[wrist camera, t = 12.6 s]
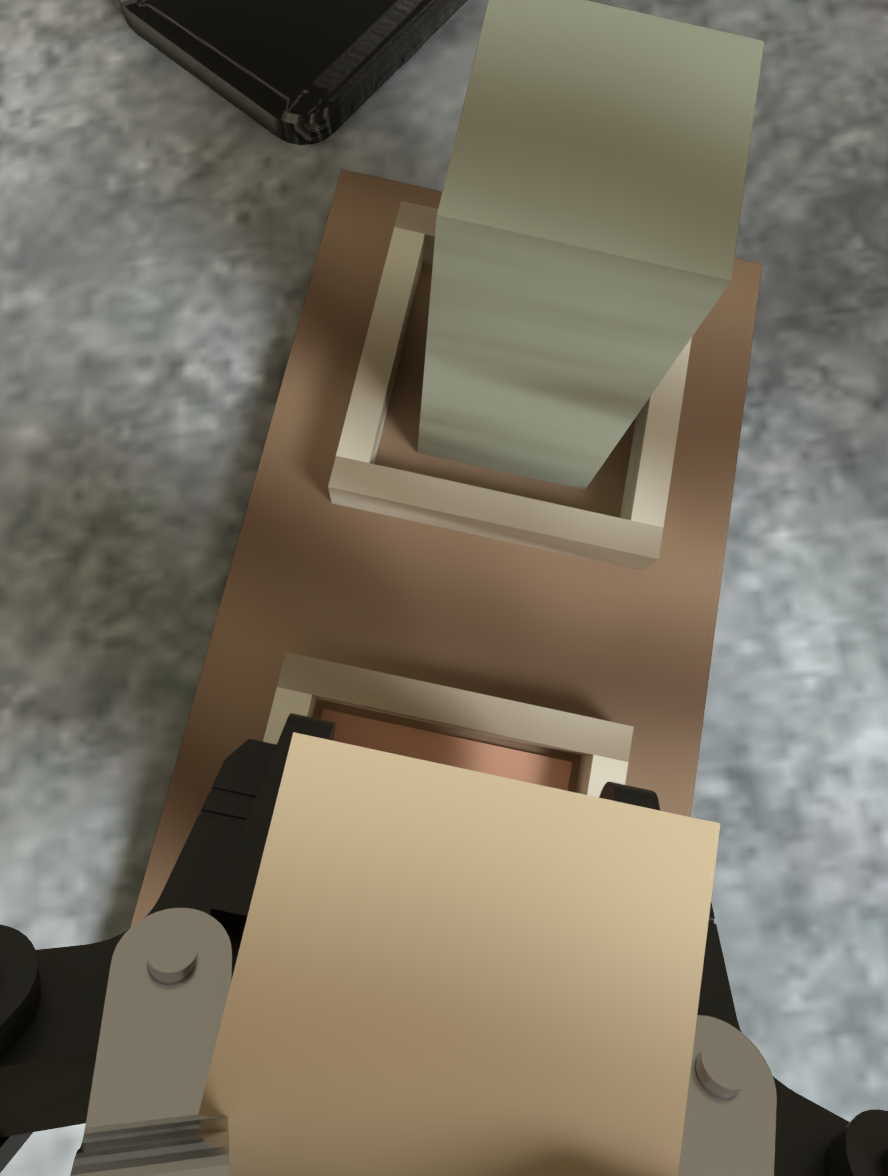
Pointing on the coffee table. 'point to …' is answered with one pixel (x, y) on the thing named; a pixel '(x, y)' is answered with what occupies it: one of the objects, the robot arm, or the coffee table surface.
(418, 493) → the baseboard
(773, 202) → the coffee table surface
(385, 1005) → the maple block
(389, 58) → the phone
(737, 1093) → the robot arm
